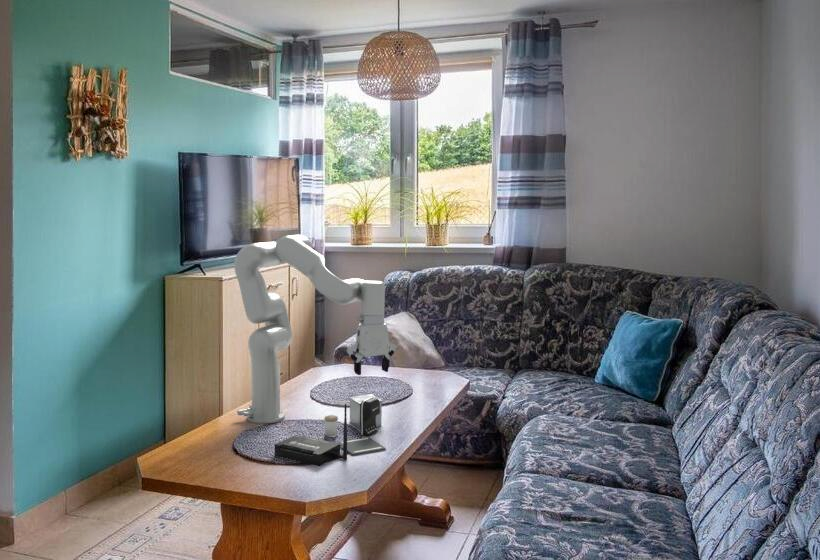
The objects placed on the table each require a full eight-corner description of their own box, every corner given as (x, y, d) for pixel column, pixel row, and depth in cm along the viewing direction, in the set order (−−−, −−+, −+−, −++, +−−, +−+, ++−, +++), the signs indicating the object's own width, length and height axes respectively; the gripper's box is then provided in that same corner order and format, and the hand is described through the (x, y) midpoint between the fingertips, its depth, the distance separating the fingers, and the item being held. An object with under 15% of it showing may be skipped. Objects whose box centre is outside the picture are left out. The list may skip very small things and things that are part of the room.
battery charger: (369, 437, 226) (369, 402, 225) (359, 435, 228) (359, 400, 227) (381, 431, 232) (381, 397, 231) (371, 429, 234) (371, 395, 233)
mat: (352, 455, 210) (352, 453, 210) (337, 444, 220) (337, 442, 220) (385, 450, 216) (385, 447, 216) (369, 439, 225) (369, 436, 225)
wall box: (359, 429, 235) (359, 403, 234) (348, 421, 242) (348, 397, 241) (382, 425, 239) (383, 400, 238) (371, 418, 246) (371, 394, 245)
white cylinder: (327, 438, 225) (327, 420, 224) (322, 434, 229) (322, 416, 228) (339, 436, 227) (339, 418, 226) (334, 432, 231) (334, 414, 230)
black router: (270, 459, 208) (270, 401, 206) (299, 445, 220) (299, 390, 218) (327, 472, 198) (328, 412, 196) (354, 457, 211) (355, 400, 209)
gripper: (352, 323, 219) (352, 378, 221) (401, 319, 228) (400, 372, 230) (342, 319, 225) (341, 372, 227) (390, 316, 234) (389, 367, 236)
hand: (371, 372), depth 228 cm, fingers open, 9 cm apart
